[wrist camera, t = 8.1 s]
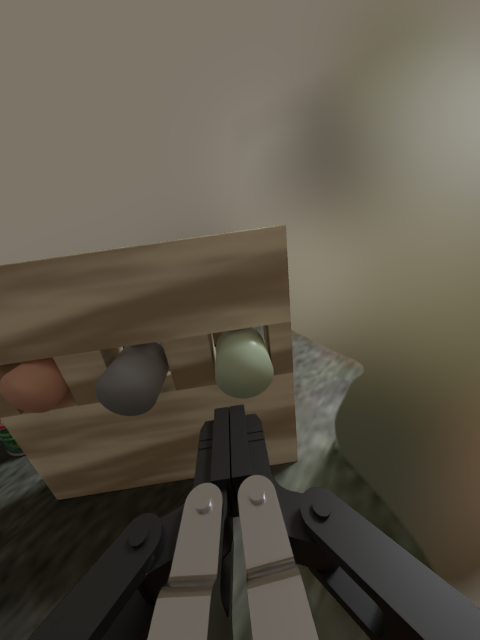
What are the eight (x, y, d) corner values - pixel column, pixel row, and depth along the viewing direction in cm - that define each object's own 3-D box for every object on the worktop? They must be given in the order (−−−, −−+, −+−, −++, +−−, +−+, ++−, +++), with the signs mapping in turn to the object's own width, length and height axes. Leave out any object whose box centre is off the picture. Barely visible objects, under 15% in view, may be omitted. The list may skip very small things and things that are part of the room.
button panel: (297, 461, 23) (285, 224, 14) (57, 500, 22) (-99, 279, 14) (275, 393, 32) (260, 227, 24) (106, 420, 31) (30, 259, 23)
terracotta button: (68, 408, 18) (44, 365, 16) (16, 416, 17) (-12, 374, 16) (95, 377, 21) (78, 340, 20) (52, 384, 21) (32, 347, 20)
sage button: (275, 393, 16) (271, 344, 15) (220, 402, 16) (210, 354, 14) (265, 363, 20) (261, 321, 18) (220, 370, 20) (212, 328, 18)
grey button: (164, 411, 16) (148, 363, 14) (107, 420, 16) (85, 373, 14) (175, 377, 20) (163, 336, 18) (129, 384, 20) (113, 343, 18)
